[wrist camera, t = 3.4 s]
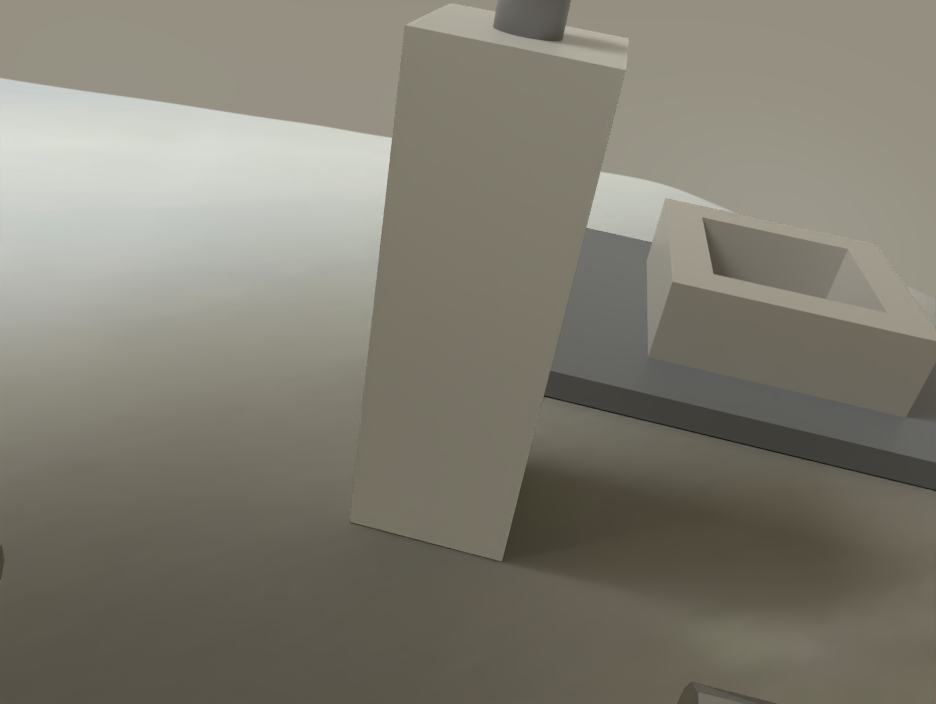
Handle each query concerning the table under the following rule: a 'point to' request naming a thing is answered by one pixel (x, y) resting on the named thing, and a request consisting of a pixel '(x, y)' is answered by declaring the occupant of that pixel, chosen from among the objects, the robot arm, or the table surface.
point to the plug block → (477, 261)
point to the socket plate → (754, 340)
